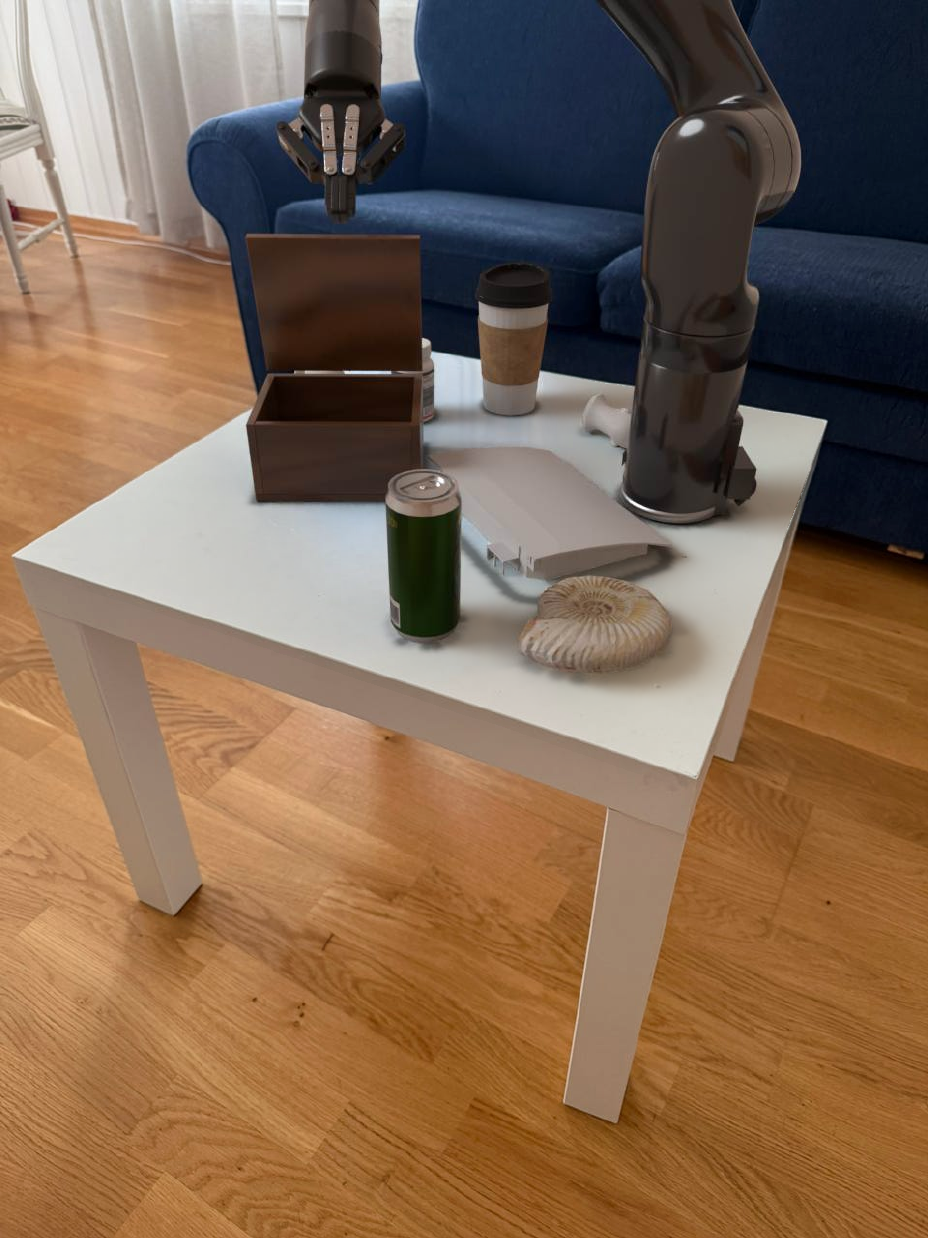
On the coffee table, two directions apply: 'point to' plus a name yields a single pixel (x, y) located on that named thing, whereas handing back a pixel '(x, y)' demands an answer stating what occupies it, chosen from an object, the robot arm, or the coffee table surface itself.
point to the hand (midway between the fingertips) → (340, 218)
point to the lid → (338, 301)
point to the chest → (334, 436)
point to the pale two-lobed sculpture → (607, 420)
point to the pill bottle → (425, 380)
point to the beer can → (424, 554)
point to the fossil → (596, 626)
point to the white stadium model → (542, 512)
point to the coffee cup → (512, 334)
